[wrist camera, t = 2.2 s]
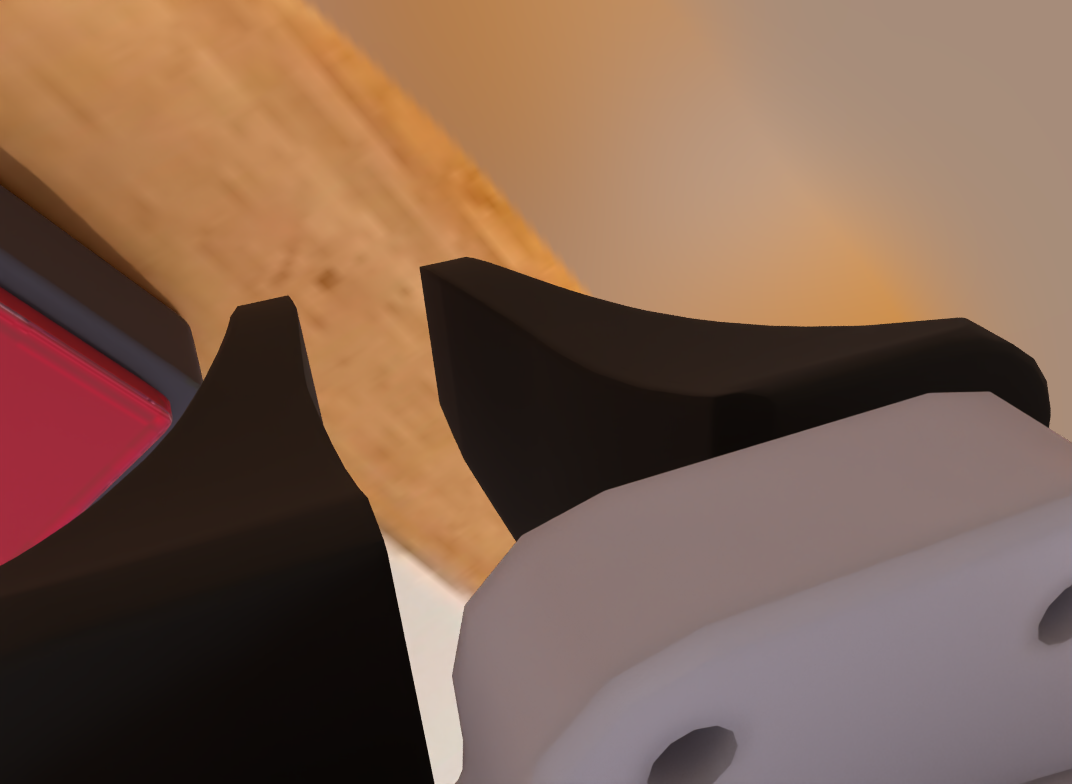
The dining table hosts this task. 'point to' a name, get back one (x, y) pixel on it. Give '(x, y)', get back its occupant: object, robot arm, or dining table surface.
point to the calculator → (77, 376)
